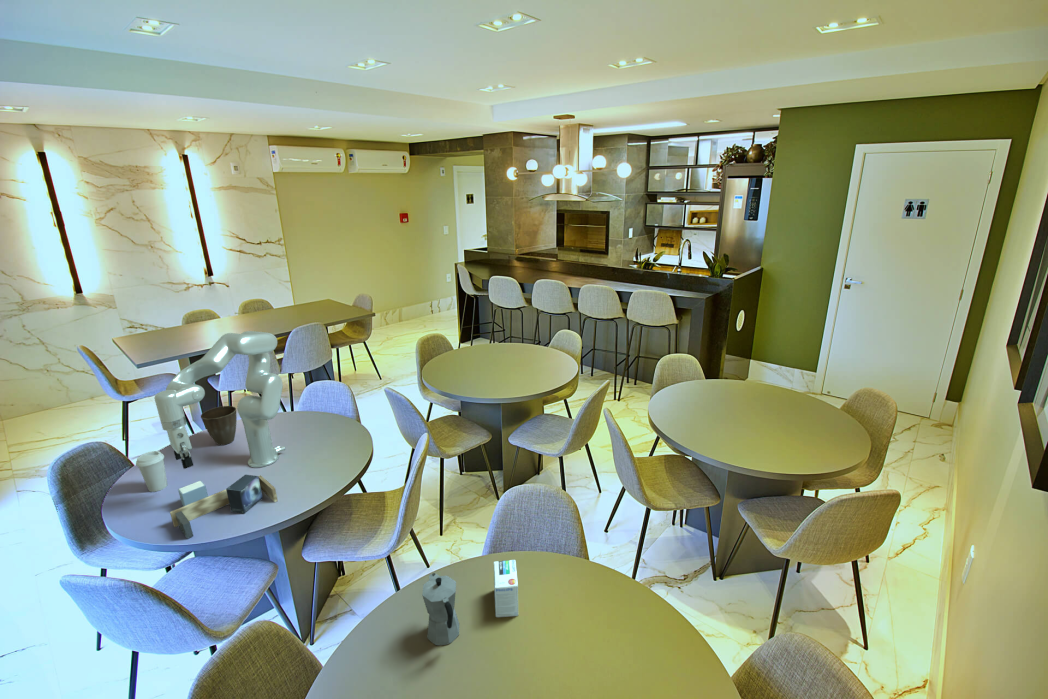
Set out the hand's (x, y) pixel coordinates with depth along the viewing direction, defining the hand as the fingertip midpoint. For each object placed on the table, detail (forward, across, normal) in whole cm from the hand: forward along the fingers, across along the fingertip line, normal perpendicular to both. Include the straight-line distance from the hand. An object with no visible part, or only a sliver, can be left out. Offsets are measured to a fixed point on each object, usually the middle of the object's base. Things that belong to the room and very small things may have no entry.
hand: (184, 462), depth 192 cm
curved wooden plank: (+18, -17, -6) cm, 26 cm away
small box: (+18, -18, -13) cm, 29 cm away
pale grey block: (+18, 0, 0) cm, 18 cm away
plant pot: (+18, +47, -26) cm, 57 cm away
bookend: (+18, -18, +8) cm, 26 cm away
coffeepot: (+18, -123, -26) cm, 127 cm away
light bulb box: (+18, -128, -46) cm, 137 cm away
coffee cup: (+18, +25, +7) cm, 32 cm away
